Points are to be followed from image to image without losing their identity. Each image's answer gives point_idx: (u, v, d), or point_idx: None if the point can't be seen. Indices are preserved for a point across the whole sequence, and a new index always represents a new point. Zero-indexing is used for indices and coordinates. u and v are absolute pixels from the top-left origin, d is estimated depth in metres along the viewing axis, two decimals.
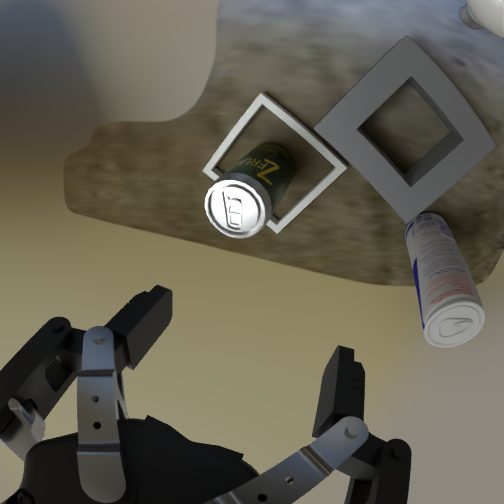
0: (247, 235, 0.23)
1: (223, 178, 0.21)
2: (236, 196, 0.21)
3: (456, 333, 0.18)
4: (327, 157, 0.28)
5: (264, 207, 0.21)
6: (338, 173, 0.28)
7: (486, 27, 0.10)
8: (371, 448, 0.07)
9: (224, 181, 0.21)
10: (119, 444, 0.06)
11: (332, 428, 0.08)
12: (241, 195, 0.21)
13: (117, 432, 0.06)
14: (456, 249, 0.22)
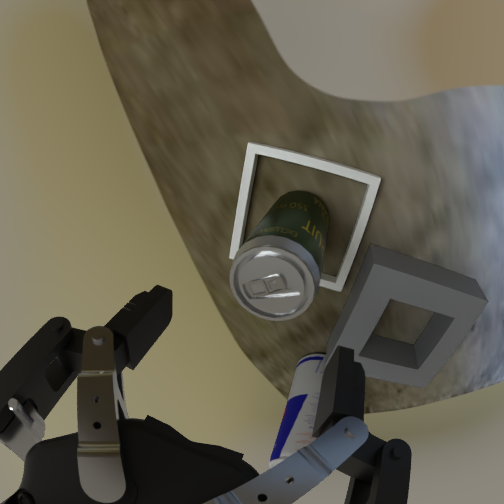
0: (248, 308, 0.17)
1: (302, 254, 0.15)
2: (289, 280, 0.16)
3: None
4: (342, 271, 0.26)
5: (296, 316, 0.17)
6: (331, 287, 0.27)
7: None
8: (371, 448, 0.07)
9: (303, 265, 0.15)
10: (119, 444, 0.06)
11: (332, 428, 0.08)
12: (294, 287, 0.16)
13: (117, 432, 0.06)
14: None
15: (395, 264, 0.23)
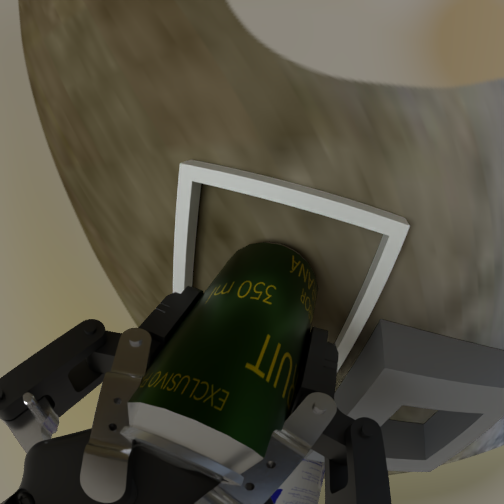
0: None
1: (230, 454, 0.06)
2: None
3: None
4: None
5: None
6: None
7: None
8: (340, 426, 0.08)
9: (229, 479, 0.05)
10: (130, 450, 0.06)
11: (299, 406, 0.08)
12: None
13: None
14: None
15: (417, 360, 0.13)
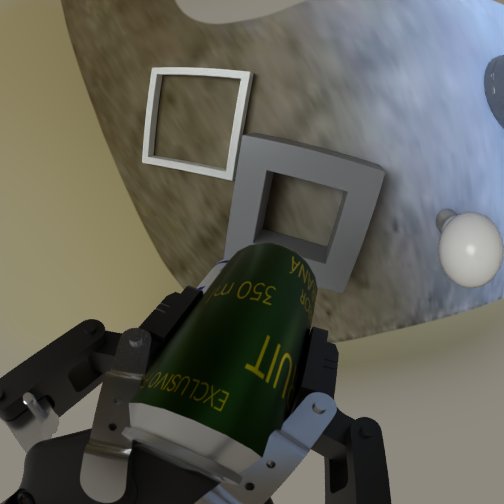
0: None
1: (230, 455, 0.06)
2: None
3: None
4: (229, 159, 0.29)
5: None
6: (222, 176, 0.30)
7: (440, 242, 0.20)
8: (340, 426, 0.08)
9: (229, 479, 0.05)
10: (130, 450, 0.06)
11: (299, 406, 0.08)
12: None
13: None
14: None
15: (269, 138, 0.25)
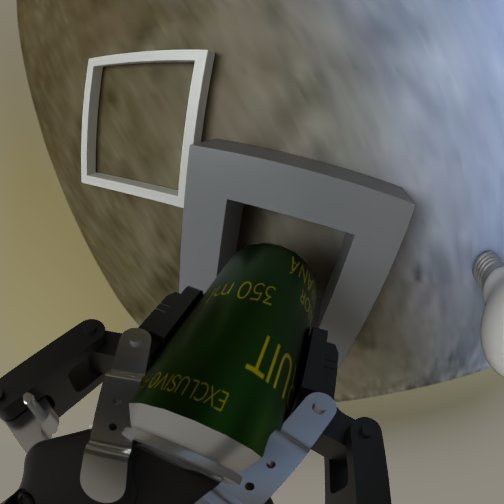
0: None
1: (230, 455, 0.06)
2: None
3: None
4: (181, 178, 0.20)
5: None
6: (174, 202, 0.21)
7: (486, 318, 0.11)
8: (340, 425, 0.08)
9: (229, 480, 0.05)
10: (130, 450, 0.06)
11: (299, 406, 0.08)
12: None
13: None
14: None
15: (231, 148, 0.16)
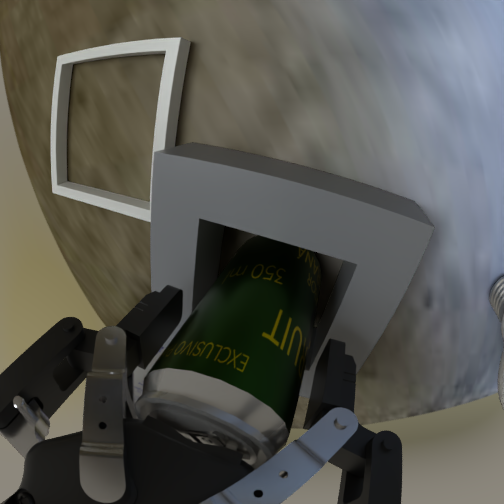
0: None
1: (251, 412, 0.07)
2: (231, 438, 0.08)
3: None
4: None
5: None
6: (146, 217, 0.18)
7: None
8: (361, 440, 0.08)
9: (251, 436, 0.07)
10: (123, 446, 0.06)
11: (321, 420, 0.08)
12: (241, 448, 0.08)
13: (122, 434, 0.06)
14: None
15: (205, 155, 0.13)
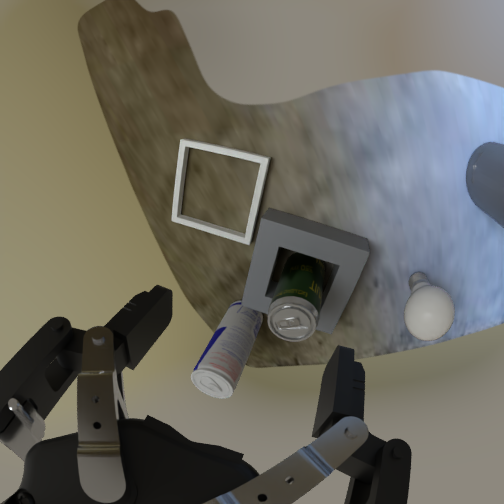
0: (276, 334, 0.29)
1: (310, 307, 0.27)
2: (301, 320, 0.28)
3: (208, 387, 0.32)
4: (247, 228, 0.37)
5: (304, 339, 0.29)
6: (241, 241, 0.38)
7: (405, 307, 0.29)
8: (371, 448, 0.07)
9: (310, 313, 0.27)
10: (119, 444, 0.06)
11: (332, 428, 0.08)
12: (305, 324, 0.28)
13: (117, 432, 0.06)
14: (250, 347, 0.38)
15: (281, 220, 0.33)
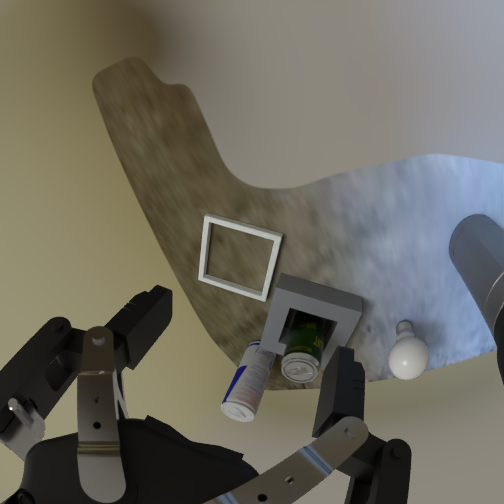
0: (288, 378, 0.37)
1: (313, 360, 0.35)
2: (307, 369, 0.36)
3: (234, 414, 0.40)
4: (264, 289, 0.45)
5: (309, 381, 0.36)
6: (258, 298, 0.46)
7: (389, 354, 0.36)
8: (371, 448, 0.07)
9: (313, 365, 0.34)
10: (119, 444, 0.06)
11: (332, 428, 0.08)
12: (309, 371, 0.35)
13: (117, 432, 0.06)
14: (266, 381, 0.45)
15: (292, 287, 0.41)
